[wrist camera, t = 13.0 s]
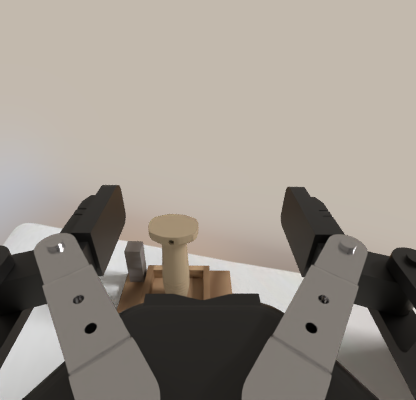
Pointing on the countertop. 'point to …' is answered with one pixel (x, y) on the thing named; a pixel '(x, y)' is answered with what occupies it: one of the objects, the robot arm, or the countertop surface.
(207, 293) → the seat board
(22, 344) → the countertop surface
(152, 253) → the countertop surface
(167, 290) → the handle
